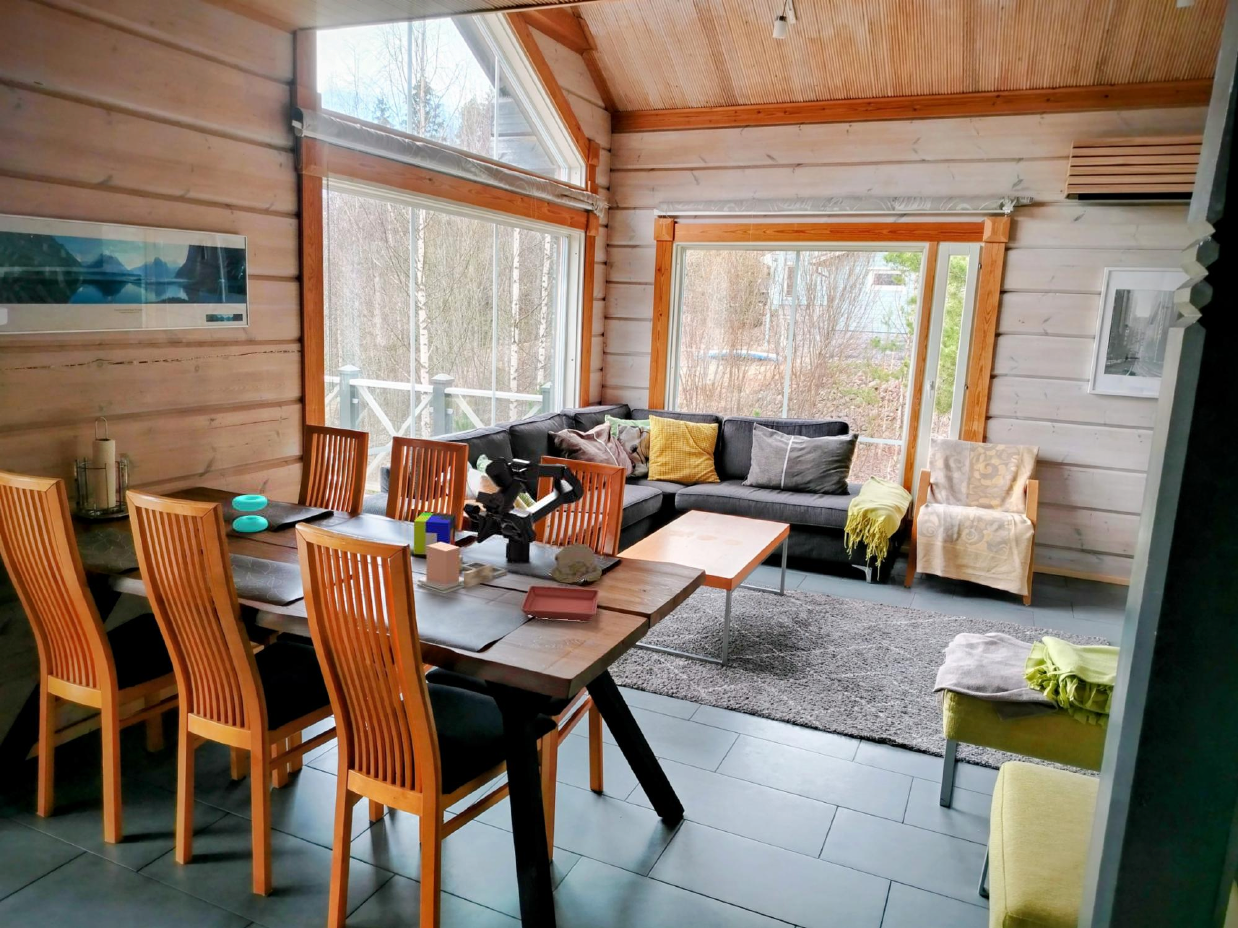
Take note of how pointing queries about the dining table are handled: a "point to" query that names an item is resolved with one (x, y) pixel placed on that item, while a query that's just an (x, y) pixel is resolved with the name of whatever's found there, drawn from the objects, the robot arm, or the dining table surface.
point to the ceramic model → (576, 564)
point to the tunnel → (476, 574)
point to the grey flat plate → (476, 564)
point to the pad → (441, 590)
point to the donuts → (250, 505)
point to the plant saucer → (560, 603)
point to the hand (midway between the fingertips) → (477, 542)
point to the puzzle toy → (433, 530)
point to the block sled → (442, 566)
